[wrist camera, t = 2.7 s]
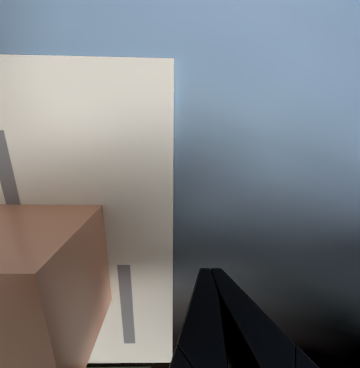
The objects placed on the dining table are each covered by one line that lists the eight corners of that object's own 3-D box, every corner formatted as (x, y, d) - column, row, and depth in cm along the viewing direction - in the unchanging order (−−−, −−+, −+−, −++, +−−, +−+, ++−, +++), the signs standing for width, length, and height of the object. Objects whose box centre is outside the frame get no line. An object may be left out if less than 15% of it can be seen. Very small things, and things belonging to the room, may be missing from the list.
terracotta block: (112, 299, 9) (67, 415, 6) (9, 299, 9) (-108, 417, 6) (102, 205, 8) (34, 273, 4) (-19, 204, 8) (-200, 273, 4)
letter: (172, 358, 11) (172, 362, 11) (-24, 360, 11) (-28, 364, 11) (174, 60, 7) (173, 58, 7) (-144, 53, 7) (-154, 50, 6)
